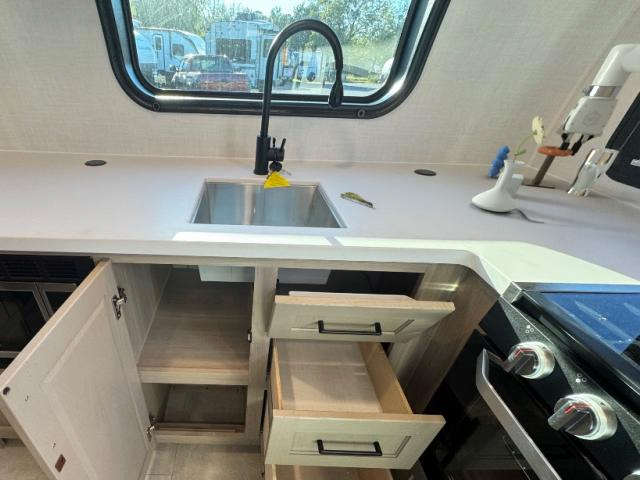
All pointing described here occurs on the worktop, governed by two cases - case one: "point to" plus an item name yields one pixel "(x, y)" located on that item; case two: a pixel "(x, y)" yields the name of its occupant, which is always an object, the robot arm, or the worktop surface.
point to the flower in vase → (508, 177)
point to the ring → (554, 151)
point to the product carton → (512, 183)
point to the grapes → (499, 161)
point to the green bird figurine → (356, 198)
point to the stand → (540, 175)
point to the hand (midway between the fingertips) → (565, 154)
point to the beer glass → (591, 170)
